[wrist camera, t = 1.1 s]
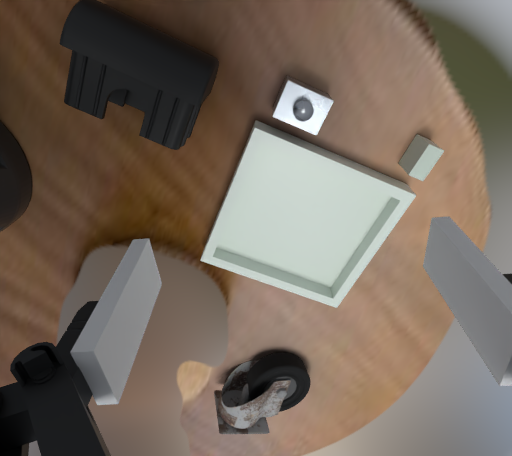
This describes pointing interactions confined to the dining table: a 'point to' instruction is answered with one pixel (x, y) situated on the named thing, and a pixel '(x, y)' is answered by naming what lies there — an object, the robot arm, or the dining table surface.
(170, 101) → the end cap
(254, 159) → the pale green tray
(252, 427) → the caster wheel
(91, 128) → the dining table surface
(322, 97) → the block
